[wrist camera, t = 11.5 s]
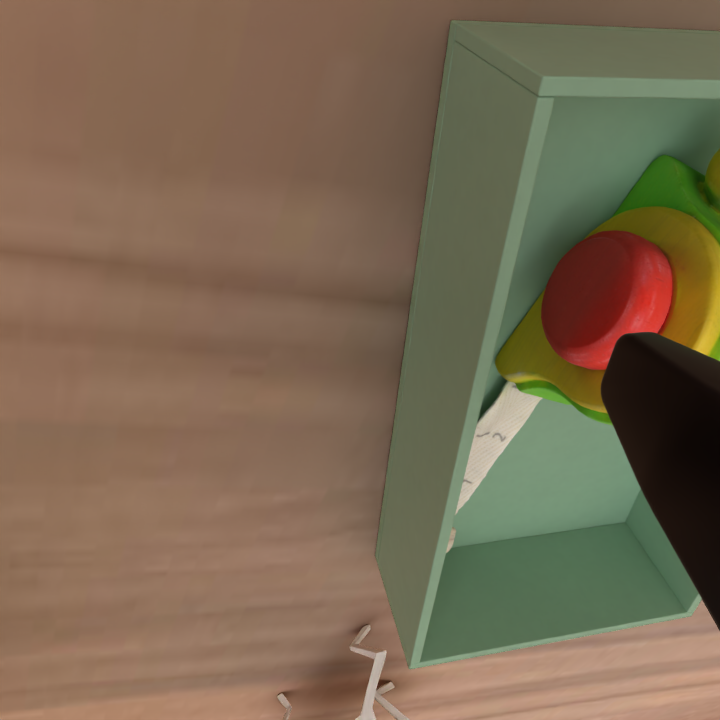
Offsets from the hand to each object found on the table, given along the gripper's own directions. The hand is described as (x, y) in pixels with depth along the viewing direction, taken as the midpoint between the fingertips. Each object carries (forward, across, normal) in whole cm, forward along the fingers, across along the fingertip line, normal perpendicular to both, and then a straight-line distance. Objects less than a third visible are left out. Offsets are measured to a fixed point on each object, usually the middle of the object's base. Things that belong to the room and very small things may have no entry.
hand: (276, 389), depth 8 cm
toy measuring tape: (+12, -11, +9) cm, 19 cm away
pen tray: (+12, -12, +9) cm, 20 cm away
